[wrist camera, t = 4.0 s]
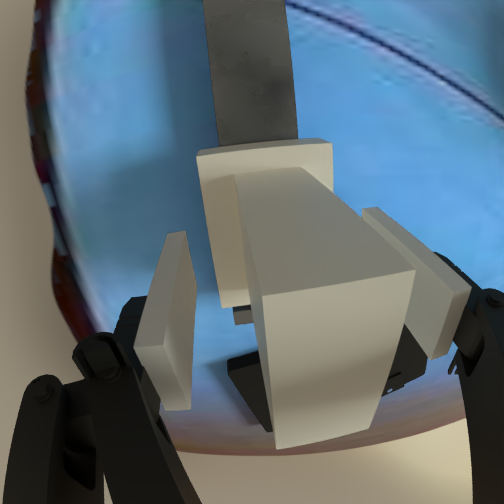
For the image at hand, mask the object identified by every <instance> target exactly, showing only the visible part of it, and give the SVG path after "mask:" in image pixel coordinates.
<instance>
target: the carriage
mask: <svg viewBox="0 0 504 504" xmlns="http://www.w3.org/2000/svg"><path fill="white" fill-rule="evenodd" d="M196 158H197V165H198V172H199V178H200V185H201V191H202V198H203V204H204V210H205V216H206V222H207V228H208V234H209V240H210V246H211V251H212V257H213V263H214V268H215V274H216V279H217V285H218V290H219V295H220V300H221V306H222V308H228V307H235V306H243V305H250V304H251V310H252V316H253V321H254V327H255V333H256V339H257V344H258V350H259V356H260V361H261V367H262V373H263V378H264V384H265V389H266V395H267V401H268V406H269V412H270V417H271V423H272V428H273V434H274V439H275V444H276V450H277V449H283V448H289V447H294V446H300V445H305V444H310V443H314V442H319V441H323V440H327V439H332V438H336V437H340V436H343V435H347V434H351V433H355V432H358V431H362V430H365V429H368V428H369V426H370V424H371V422H372V419H373V417H374V414H375V411H376V409H377V406H378V404H379V401H380V398H381V395H382V393H383V390H384V387H385V384H386V381H387V378H388V375H389V372H390V369H391V366H392V363H393V360H394V356H395V353H396V350H397V346H398V343H399V339H400V336H401V332H402V328H403V325H404V321H405V317H406V313H407V309H408V304H409V300H410V296H411V291H412V286H413V282H414V277H415V272H416V269H415V268H414V267H413V266H412V265H411V264H410V263H409V262H408V261H407V260H406V259H405V258H404V257H403V256H402V255H401V254H400V253H399V252H398V251H397V250H396V249H395V248H394V247H393V246H392V245H390V244H389V243H388V242H387V241H386V240H385V239H384V238H383V237H382V236H381V235H380V234H379V233H378V232H377V231H376V230H374V229H373V228H372V227H371V226H370V225H369V224H368V223H367V222H366V221H365V220H364V219H362V218H361V217H360V216H359V215H358V214H357V213H356V212H355V211H353V210H352V209H351V208H350V207H349V206H348V205H347V204H345V203H344V202H343V201H342V200H341V199H340V198H338V197H337V196H336V195H335V194H334V193H333V151H332V143H331V142H328V141H326V140H323V139H320V138H306V139H292V140H279V141H268V142H258V143H248V144H239V145H231V146H223V147H216V148H209V149H202V150H199V151H198V154H197V156H196Z"/></svg>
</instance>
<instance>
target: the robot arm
mask: <svg viewBox="0 0 504 504" xmlns="http://www.w3.org/2000/svg"><path fill="white" fill-rule="evenodd" d="M362 219H364V220H365V221H366V222H367V223H368V224H369V225H370V226H371V227H372V228H373V229H374V230H376V231H377V232H378V233H379V234H380V235H381V236H382V237H383V238H384V239H385V240H386V241H387V242H388V243H389V244H390V245H392V246H393V247H394V248H395V249H396V250H397V251H398V252H399V253H400V254H401V255H402V256H403V257H404V258H405V259H406V260H407V261H408V262H409V263H410V264H411V265H412V266H413V267H414V268H415V269H416V272H415V277H414V282H413V286H412V291H411V296H410V300H409V304H408V309H407V313H406V317H405V321H404V323H405V325H406V326H407V328H408V329H409V330H410V332H411V333H412V335H413V336H414V337H415V339H416V340H417V342H418V343H419V345H420V346H421V348H422V349H423V351H424V352H425V353H426V355H427V356H428V358H429V359H430V360H433V359H435V358H438V357H441V356H443V355H446V354H447V353H448V351H449V349H450V346H451V344H452V341H453V342H454V343H455V344H456V345H457V347H458V349H457V351H456V354H455V356H454V358H453V360H452V362H451V364H450V367H449V369H448V374H451V373H452V371H453V369H454V367H455V365H456V366H457V369H456V371H455V374H458V375H459V380H460V384H461V390H462V395H463V400H464V406H465V413H466V419H467V426H468V434H469V443H470V453H471V466H472V484H473V504H504V293H503V292H501V291H498V290H496V289H491V288H488V289H483V290H482V289H481V288H480V287H479V286H478V285H477V284H476V283H475V282H474V281H473V280H471V279H470V278H469V277H468V276H467V275H466V274H465V273H464V272H463V271H462V272H461V270H460V269H459V268H458V267H457V266H455V264H454V263H452V262H451V261H450V260H449V259H448V258H447V257H445V256H443V255H441V254H439V253H437V252H432V251H431V250H430V249H429V248H428V247H426V246H425V245H424V244H423V243H422V242H420V241H419V240H418V239H417V238H416V237H414V236H413V235H412V234H411V233H410V232H408V231H407V230H406V229H405V228H403V227H402V226H401V225H400V224H398V223H397V222H396V221H395V220H393V219H392V218H391V217H389V216H388V215H387V214H386V213H384V212H383V211H382V210H380V209H379V208H378V207H373V208H363V209H362ZM196 295H197V283H196V279H195V274H194V269H193V265H192V260H191V256H190V251H189V246H188V241H187V236H186V231H179V232H172V233H167V236H166V239H165V242H164V245H163V248H162V251H161V254H160V257H159V260H158V264H157V267H156V270H155V273H154V276H153V279H152V283H151V286H150V289H149V293H148V296H140V297H132V298H131V299H130V300H129V301H128V302H127V303H126V304H125V305H124V306H123V308H122V311H121V313H120V316H119V320H118V322H117V324H116V328H115V330H114V333H113V334H112V333H109V332H99V333H94V334H92V335H90V336H88V337H86V338H84V339H83V340H82V341H81V342H79V343H78V344H77V346H76V347H75V349H74V351H73V355H72V359H73V361H74V362H75V364H76V365H77V367H78V369H79V370H80V372H81V373H82V375H83V376H84V378H85V379H83V380H80V381H76V382H73V383H69V384H65V385H63V384H62V383H61V381H60V380H59V379H58V378H57V377H55V376H54V375H48V374H46V375H42V376H39V377H37V378H36V379H34V380H33V381H32V382H31V383H30V384H29V385H28V386H27V388H26V390H25V392H24V395H23V398H22V402H21V405H20V409H19V413H18V417H17V421H16V425H15V429H14V433H13V438H12V443H11V448H10V453H9V458H8V464H7V471H6V477H5V485H4V493H3V504H104V475H105V479H106V482H107V486H108V489H109V493H110V496H111V499H112V502H113V504H202V503H201V501H200V499H199V497H198V495H197V493H196V491H195V489H194V487H193V485H192V483H191V482H190V480H189V477H188V476H187V473H186V471H185V469H184V467H183V465H182V463H181V461H180V459H179V457H178V454H177V452H176V450H175V447H174V445H173V443H172V441H171V438H170V436H169V434H168V431H167V429H166V426H165V424H164V422H163V420H162V418H161V416H160V415H159V409H160V401H161V403H162V405H163V407H164V409H165V410H166V411H175V410H191V384H192V361H193V341H194V324H195V309H196Z"/></svg>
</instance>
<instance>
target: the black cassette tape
mask: <svg viewBox="0 0 504 504" xmlns="http://www.w3.org/2000/svg"><path fill="white" fill-rule="evenodd" d="M427 358H428V356H427V355H426V353H425V352H424V351H423V349H422V348H421V346H420V345H419V343H418V342H417V340H416V339H415V337H414V336H413V335H412V333H411V332H410V330H409V329H408V328H407V326H406V325H405V323H404V325H403V328H402V332H401V336H400V339H399V343H398V346H397V350H396V353H395V356H394V360H393V363H392V366H391V369H390V372H389V375H388V378H387V381H386V384H385V387H384V390H383V393H382V395H381V397H382V396H384V395H387V394H389V393H391V392H394V391H396V390H398V389H400V388H402V387H404V384H406V383H408V382H410V381H412V380H414V379H416V378H418V377H420V376H422V375H424V373H425V370H426V364H427ZM245 359H246V360H245ZM238 361H239V362H238ZM231 363H232V364H231ZM227 367H228V375H229V377H230V378H231V380H232V381H233V383H234V385H235V386H236V388H237V389H238V391H239V392H240V394H241V395H242V397H243V398H244V400H245V401H246V403H247V404H248V406H249V407H250V409H251V410H252V412H253V413H254V415H255V416H256V417H257V419H258V420H259V422H260V423H261V425H262V426H263V428H264V429H265V430H266V432H272V431H273V428H272V423H271V417H270V412H269V406H268V401H267V395H266V389H265V384H264V378H263V373H262V367H261V361H260V356H259V351H256V352H253V353H250V354H246V355H243V356H239V357H236V358H232V359H229V360H228V361H227ZM391 388H392V389H393V390H392V391H391V392H389V393H387V391H388V390H389V389H391Z"/></svg>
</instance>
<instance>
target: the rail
mask: <svg viewBox="0 0 504 504" xmlns="http://www.w3.org/2000/svg"><path fill="white" fill-rule="evenodd" d="M203 6H204V16H205V26H206V35H207V45H208V54H209V63H210V72H211V81H212V90H213V98H214V107H215V115H216V124H217V132H218V140H219V147H223V146H231V145H239V144H248V143H258V142H268V141H279V140H292V139H298V129H297V115H296V103H295V91H294V80H293V70H292V60H291V50H290V41H289V33H288V24H287V16H286V9H285V1H284V0H203ZM233 316H234V321H235V325H240V324H248V323H254V321H253V316H252V310H251V304H250V305H243V306H235V307H233Z"/></svg>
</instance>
